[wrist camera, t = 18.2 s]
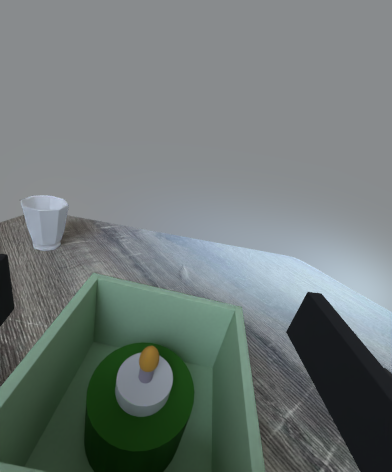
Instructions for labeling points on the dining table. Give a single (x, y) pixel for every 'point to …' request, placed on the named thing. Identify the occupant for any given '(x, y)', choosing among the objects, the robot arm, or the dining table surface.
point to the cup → (45, 220)
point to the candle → (137, 409)
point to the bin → (112, 338)
